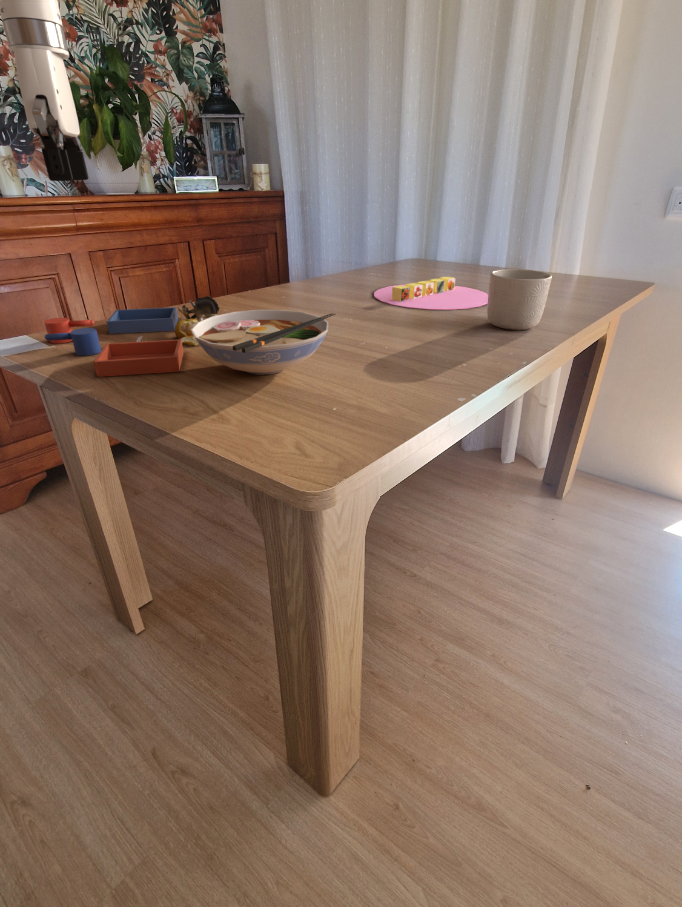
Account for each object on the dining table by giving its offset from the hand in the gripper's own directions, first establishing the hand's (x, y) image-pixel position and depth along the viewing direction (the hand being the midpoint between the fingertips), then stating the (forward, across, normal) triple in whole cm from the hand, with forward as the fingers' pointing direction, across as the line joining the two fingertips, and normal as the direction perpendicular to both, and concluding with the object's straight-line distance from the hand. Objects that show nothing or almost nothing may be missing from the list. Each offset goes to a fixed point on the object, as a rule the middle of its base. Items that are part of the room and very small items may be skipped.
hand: (70, 180), depth 79 cm
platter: (+29, -36, +76) cm, 89 cm away
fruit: (+29, -6, +14) cm, 33 cm away
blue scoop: (+28, -2, -7) cm, 29 cm away
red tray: (+28, +7, +6) cm, 30 cm away
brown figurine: (+29, -17, +16) cm, 37 cm away
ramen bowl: (+29, +13, +28) cm, 42 cm away
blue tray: (+28, -19, +3) cm, 34 cm away
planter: (+29, -4, +84) cm, 88 cm away
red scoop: (+28, -11, -9) cm, 32 cm away
